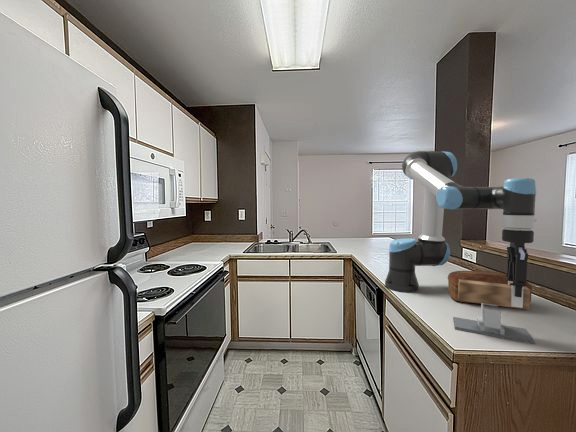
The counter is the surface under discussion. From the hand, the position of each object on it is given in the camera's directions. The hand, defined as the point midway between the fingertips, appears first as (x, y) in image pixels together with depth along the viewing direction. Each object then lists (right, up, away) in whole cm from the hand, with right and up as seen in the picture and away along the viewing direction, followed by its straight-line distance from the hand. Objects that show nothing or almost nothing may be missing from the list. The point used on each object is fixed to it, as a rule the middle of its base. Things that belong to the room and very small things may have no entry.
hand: (514, 304), depth 87 cm
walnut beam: (-5, 0, +3) cm, 6 cm away
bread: (+12, -9, +30) cm, 33 cm away
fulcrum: (-5, -9, +3) cm, 11 cm away
